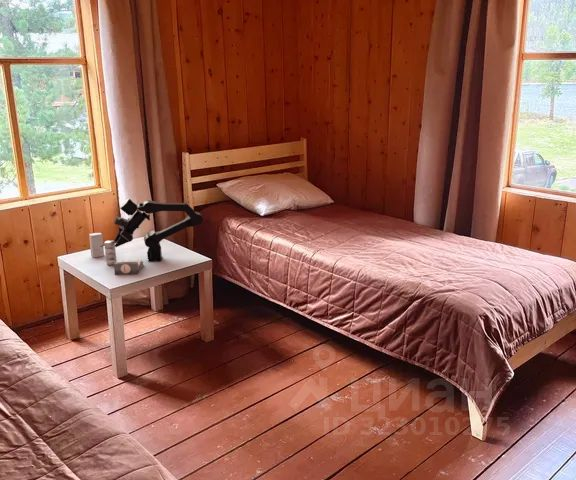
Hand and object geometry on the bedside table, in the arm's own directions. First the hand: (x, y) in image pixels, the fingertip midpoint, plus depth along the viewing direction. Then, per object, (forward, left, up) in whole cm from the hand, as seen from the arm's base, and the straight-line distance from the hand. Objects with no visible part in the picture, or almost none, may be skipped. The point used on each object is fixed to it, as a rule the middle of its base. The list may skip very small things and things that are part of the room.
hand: (115, 243), depth 281 cm
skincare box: (+14, -13, -11) cm, 22 cm away
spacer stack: (+3, +1, -11) cm, 11 cm away
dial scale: (-8, +10, -11) cm, 17 cm away
